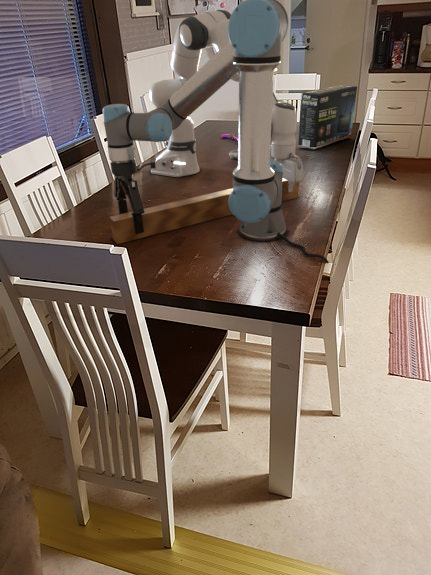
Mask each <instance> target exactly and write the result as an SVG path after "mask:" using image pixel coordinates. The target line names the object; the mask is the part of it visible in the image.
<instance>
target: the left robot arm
mask: <svg viewBox="0 0 431 575" xmlns="http://www.w3.org/2000/svg"><path fill="white" fill-rule="evenodd" d="M231 14H232V13H231V12H229V11H228V10H224V9H217V10H211V11H204V12H202V13H199V14H196V15H192V16H191V15H190V16H188V17H185V18H183V19H182V20H181V21H180V22H179V23H178V26H177V29H176V31H175V34H174V39H173V44H172V49H171V56H170V61H169V64H170V68H171V70H172V72H173V73H174V74H176V75H177V76H179V77H177V78H171V79H162V80H160V81H156V82H154V83H152V84H151V86H150V88H149V92H148V96H149V100H150V103H151V104H152V105H153V106H154V108H155V109H156V108H159V107H160V106H161V105H162V104H163V103H164V102H166V101H167V100H168V99H169V98H170V97H171V96H172V95H173V94H174V93H175V92H176V91H177V90H178V89H179V88H180V87H181V86H182V85H184V84H185V83H186V82H187V81H188V80H189V79H190V78H191V77H192V76H193V75H194V74H195V73H196V72H197V71H198V70H199V65H200V59H201V54H202V50H203V49H204V50H205V49H208V48H213V49H214V50H215V52H216V53H217V52H218V51H219V50H220V49H221V48H222V47H224V46H225V45H226V44H227V43H228V42H229V41H230V40H229V36H228V24H229V20H230V17H231ZM230 80H232V81H234V82H237V83H239V72H238V73H237V74H236V75H234V76H233V77H232V78H231V79H230ZM297 129H298V113H297V109H296V106H295V105H293V104H292V103H289V102H284V101H278V98H277V96H276V95H275V93H274V92H273V101H272V123H271V146H270V161H277V162H280V163H281V164H282V165H283V178H284V179H286V180H288V183H289V186H288V187H286V191H288V192H292V191H293V186H294V184H295V183H298V182H299V183H301V182H303V180H304V164H303V161H302V159H301V158H300V156H299V155H296V149H297V148H296V147H297V140H296V134H297ZM196 142H197V141H196V138H195V124H194V120H193V119H192V118H191V117H190V116H188V117H187V118H186V119H185V120H184V121H183V122H182V123H181V125H180V126H179V127H177V128H176V129H174V130H172V134H171V136H170V139H169V140H168V141H165V142H164V146H165V147H166V149H164V150H163V151H162V152H161V153H160V154H159V155H158V156H157V157H156V158H152V159H151V161H150V162H148V163H144V164H142V165H141V166H140V167H139V168H137V167H136V169H137V171H142V170H143V168H144V167H147V166H150V174H151V175H159V176H165V177H172V178H181V177H185V176H191V175H195V174H198V173H199V172H200V171H201V169H200V166H199V163H198V157H197V144H196Z"/></svg>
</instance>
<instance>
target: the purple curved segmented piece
mask: <svg viewBox="0 0 431 575" xmlns="http://www.w3.org/2000/svg"><path fill="white" fill-rule="evenodd" d="M231 134H232V135H233V134H234V133H229V134H228V133H227V134H226V133H225V134H221V135H222V136H228V135H231ZM221 135H220V137H221V138H222V139H230V138H229V137H222V136H221ZM234 135H235V134H234ZM234 135H233V137H234V138H236V139H237V141H238V142H239V136H236V135H235V136H236V137H235V136H234ZM231 139H232V140H233V141H236V140H235V139H233V138H231ZM237 141H236V142H237ZM238 142H237V143H238Z"/></svg>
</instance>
